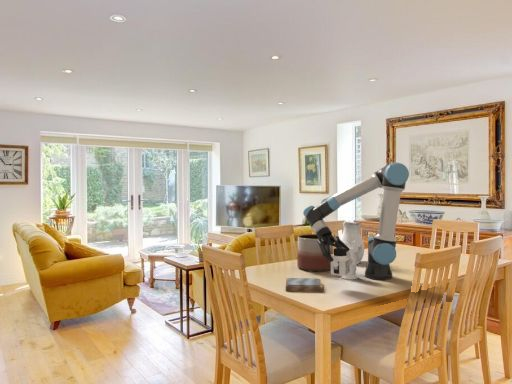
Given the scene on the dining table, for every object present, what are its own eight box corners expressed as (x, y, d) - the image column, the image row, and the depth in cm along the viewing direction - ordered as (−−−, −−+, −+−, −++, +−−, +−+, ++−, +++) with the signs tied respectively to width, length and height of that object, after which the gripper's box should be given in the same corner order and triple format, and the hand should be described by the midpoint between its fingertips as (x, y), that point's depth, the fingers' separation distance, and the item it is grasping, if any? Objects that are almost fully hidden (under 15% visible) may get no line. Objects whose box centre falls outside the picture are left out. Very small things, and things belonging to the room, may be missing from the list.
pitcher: (367, 264, 259) (367, 222, 258) (341, 264, 259) (341, 222, 258) (358, 257, 282) (358, 218, 282) (334, 257, 283) (334, 218, 282)
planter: (291, 269, 245) (291, 237, 244) (304, 263, 264) (304, 233, 264) (326, 273, 234) (326, 239, 234) (337, 266, 254) (337, 235, 253)
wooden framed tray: (320, 283, 211) (320, 278, 211) (322, 291, 196) (322, 285, 195) (286, 282, 213) (286, 277, 213) (285, 291, 197) (285, 285, 197)
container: (345, 276, 196) (345, 249, 196) (330, 274, 200) (330, 248, 200) (350, 272, 203) (349, 247, 203) (335, 271, 207) (334, 246, 206)
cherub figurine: (337, 276, 228) (337, 238, 227) (355, 274, 232) (355, 237, 232) (349, 281, 216) (349, 240, 216) (368, 279, 221) (368, 239, 220)
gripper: (333, 233, 220) (356, 265, 207) (302, 237, 207) (324, 272, 195) (340, 224, 215) (363, 257, 203) (309, 228, 203) (332, 263, 190)
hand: (344, 264), depth 199 cm, fingers closed on container, 10 cm apart
